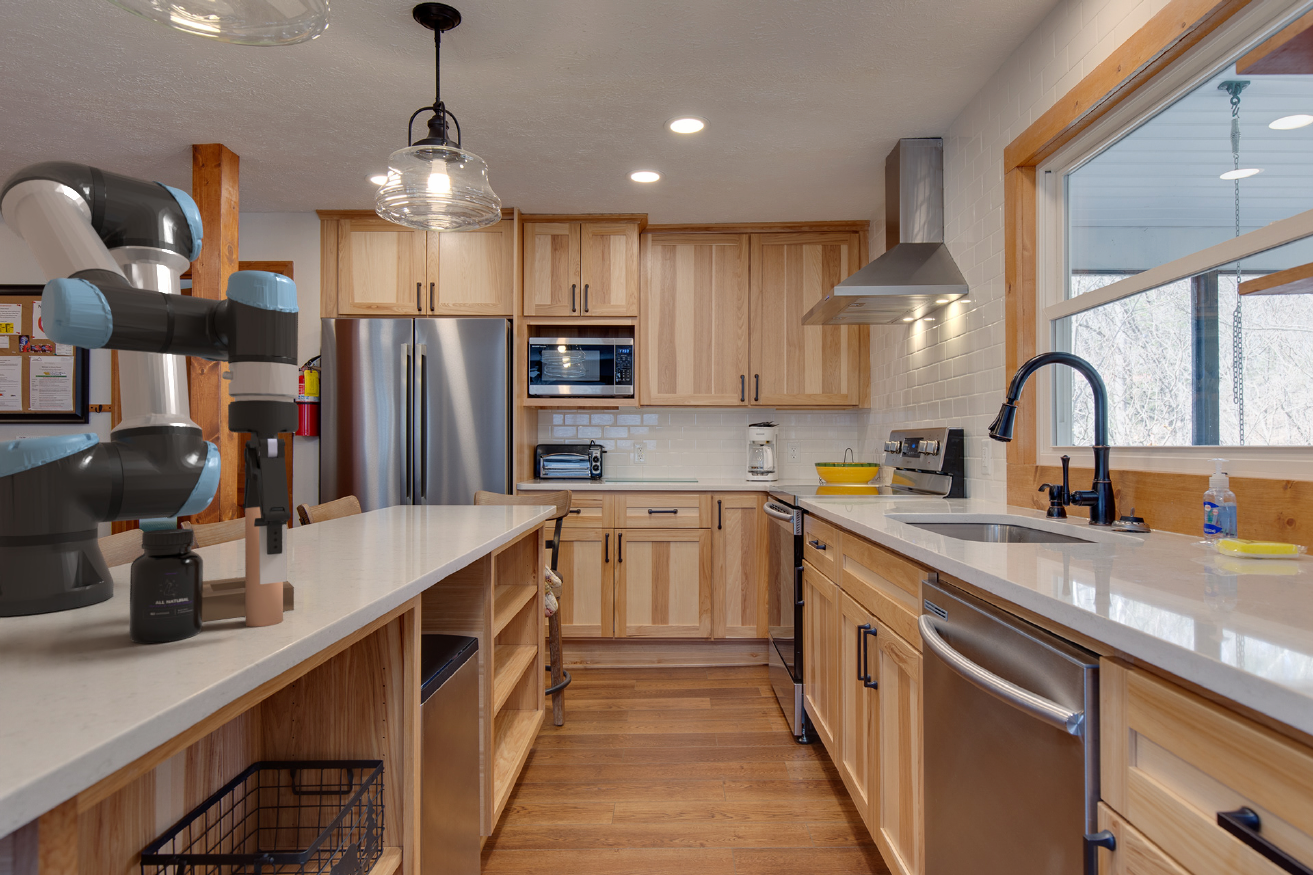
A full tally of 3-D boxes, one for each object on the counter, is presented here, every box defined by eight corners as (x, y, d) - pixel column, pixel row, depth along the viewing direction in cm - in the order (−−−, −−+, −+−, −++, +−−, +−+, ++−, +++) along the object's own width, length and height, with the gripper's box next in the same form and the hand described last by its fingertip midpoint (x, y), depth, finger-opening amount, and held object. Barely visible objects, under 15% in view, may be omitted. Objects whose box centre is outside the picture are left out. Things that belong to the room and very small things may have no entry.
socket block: (179, 605, 95) (179, 583, 95) (279, 593, 102) (279, 573, 102) (183, 624, 85) (183, 599, 85) (293, 609, 92) (293, 586, 92)
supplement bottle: (165, 646, 76) (165, 535, 76) (113, 643, 77) (113, 534, 77) (217, 629, 82) (217, 527, 82) (168, 626, 84) (168, 526, 84)
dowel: (243, 621, 86) (243, 507, 86) (280, 616, 88) (279, 505, 88) (247, 628, 83) (247, 510, 83) (285, 623, 85) (285, 507, 85)
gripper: (219, 405, 94) (220, 564, 93) (239, 392, 73) (240, 594, 73) (282, 406, 98) (283, 558, 98) (317, 394, 78) (319, 585, 78)
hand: (265, 574), depth 85 cm, fingers open, 13 cm apart
